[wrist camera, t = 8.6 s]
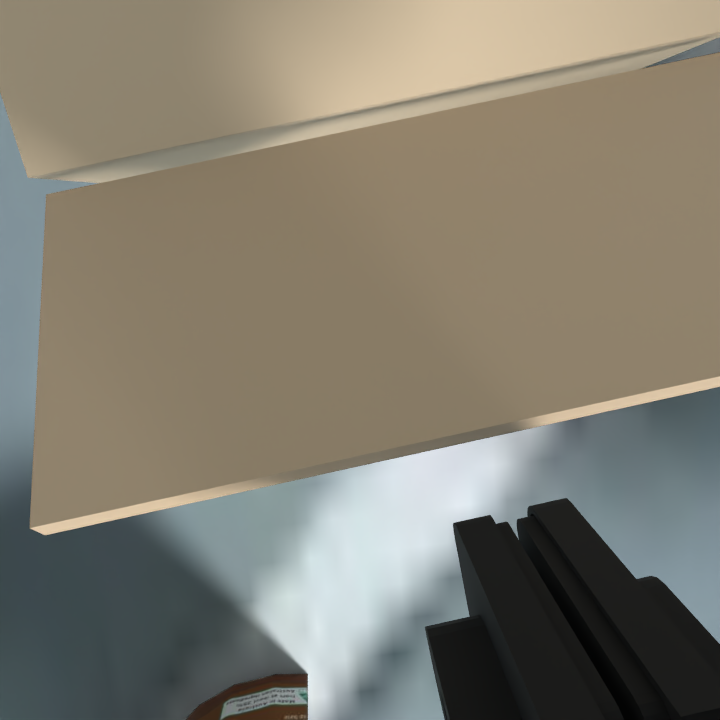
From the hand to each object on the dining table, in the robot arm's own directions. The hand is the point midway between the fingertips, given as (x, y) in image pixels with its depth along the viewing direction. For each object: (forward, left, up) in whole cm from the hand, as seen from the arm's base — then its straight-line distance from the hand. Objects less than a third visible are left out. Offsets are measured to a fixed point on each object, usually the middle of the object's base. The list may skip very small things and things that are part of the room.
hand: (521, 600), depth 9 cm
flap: (0, -5, -2) cm, 5 cm away
